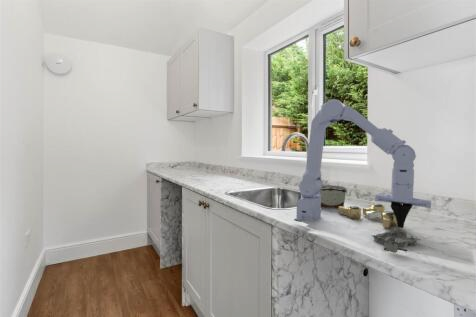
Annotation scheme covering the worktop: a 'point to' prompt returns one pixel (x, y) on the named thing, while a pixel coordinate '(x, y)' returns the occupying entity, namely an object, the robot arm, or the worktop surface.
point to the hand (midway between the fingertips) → (400, 226)
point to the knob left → (350, 212)
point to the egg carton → (390, 240)
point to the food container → (332, 196)
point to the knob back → (374, 208)
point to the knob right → (388, 219)
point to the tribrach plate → (373, 215)
